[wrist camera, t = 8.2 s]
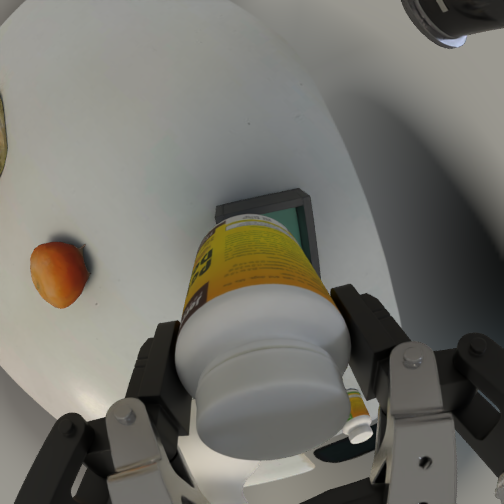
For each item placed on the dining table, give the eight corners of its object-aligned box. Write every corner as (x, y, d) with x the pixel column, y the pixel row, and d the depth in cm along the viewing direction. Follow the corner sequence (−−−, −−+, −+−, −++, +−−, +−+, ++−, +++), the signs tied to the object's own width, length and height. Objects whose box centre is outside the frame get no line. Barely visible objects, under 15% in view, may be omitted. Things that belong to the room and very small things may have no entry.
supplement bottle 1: (203, 203, 14) (157, 340, 4) (309, 220, 15) (421, 351, 5) (191, 298, 16) (167, 465, 6) (285, 309, 17) (333, 464, 7)
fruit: (112, 289, 31) (63, 324, 24) (83, 281, 34) (41, 309, 28) (90, 226, 28) (33, 256, 21) (64, 227, 31) (17, 252, 25)
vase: (275, 407, 44) (294, 507, 25) (227, 438, 47) (232, 524, 29) (207, 378, 39) (205, 498, 21) (164, 414, 43) (153, 510, 25)
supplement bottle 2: (339, 388, 43) (356, 431, 35) (363, 388, 44) (382, 427, 35) (327, 406, 45) (341, 447, 36) (350, 405, 46) (366, 443, 37)
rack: (299, 187, 30) (310, 195, 26) (320, 358, 40) (327, 378, 36) (216, 205, 30) (214, 216, 26) (261, 372, 40) (264, 394, 36)
